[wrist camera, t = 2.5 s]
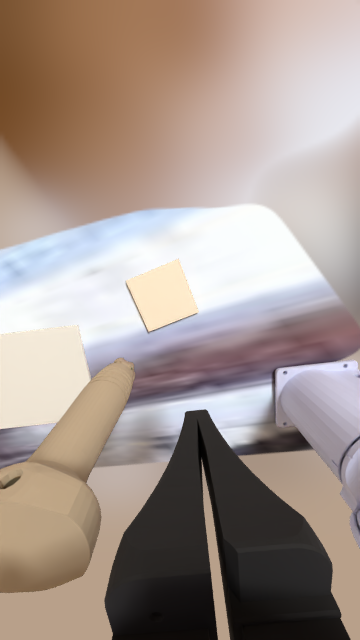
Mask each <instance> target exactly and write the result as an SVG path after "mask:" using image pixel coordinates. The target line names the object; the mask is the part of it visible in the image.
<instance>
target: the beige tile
mask: <svg viewBox="0 0 360 640" xmlns="http://www.w3.org/2000/svg"><path fill="white" fill-rule="evenodd" d="M126 283H127V285H128V287H129V289H130V291H131V294H132V296H133V298H134V300H135V303H136V305H137V307H138V309H139V311H140V314H141V316H142V318H143V320H144V322H145V325H146V327H147V329H148V331H152V330H155V329H157V328H160V327H162V326H165V325H167V324H170V323H172V322H175V321H177V320H180V319H183V318H185V317H188V316H190V315H193V314H195V313H198V312H199V311H198V309H197V306H196V303H195V301H194V298H193V295H192V293H191V290H190V288H189V285H188V282H187V280H186V277H185V275H184V272H183V269H182V267H181V264H180V262H179V259H177V260H175V261H172V262H170V263H167V264H165V265H163V266H160V267H158V268H156V269H153V270H151V271H148V272H146V273H144V274H141V275H139V276H136V277H134V278H132V279H129V280H127V281H126Z"/></svg>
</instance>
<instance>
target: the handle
mask: <svg viewBox="0 0 360 640" xmlns="http://www.w3.org/2000/svg"><path fill="white" fill-rule="evenodd" d="M134 378H135V372H134V364H133V363H132V362H127V361H126V360H124V358H118V359H116V360H115V361H114V363H112V364H109V365H108V366H107V367H105V368H104V369H102V370H101V371H100V372H99V373H98V374H97V375H96V376H95V377H94V378H93V379H92V380H91V381H90V382H89V383H88V384H87V385H86V386H85V388H83V390H82V391H81V392H80V394H79V395H78V396H77V398H76V399H75V400H74V402H73V403H72V404H71V406H70V407H69V408H68V410H67V411H66V412H65V414H64V415H63V416H62V418H61V419H60V420H59V422H58V423H57V424H56V425H55V427H54V428H53V429H52V431H51V432H50V433H49V434H48V436H47V437H46V438H45V440H44V441H43V442H42V443H41V445H40V446H39V447H38V449H37V450H36V451H35V452H34V453H33V454H32V456H31V457H30V458H29V459H28V460H27V461H26V462H23V463H18V464H14V465H11V466H8V467H5V468H2V469H0V593H14V592H34V591H42V590H47V589H50V588H54V587H57V586H60V585H62V584H65V583H67V582H69V581H72V580H74V579H76V578H79V577H81V576H83V574H84V573H85V572H86V570H87V568H88V565H89V563H90V560H91V557H92V553H93V550H94V547H95V544H96V541H97V537H98V534H99V530H100V522H101V511H100V507H99V503H98V500H97V498H96V497H95V495H94V493H93V491H92V489H90V487H89V486H88V485H87V484H86V482H87V479H88V477H89V475H90V472H91V471H92V469H93V467H94V465H95V463H96V461H97V459H98V457H99V455H100V453H101V451H102V449H103V447H104V445H105V443H106V441H107V439H108V437H109V436H110V434H111V432H112V430H113V428H114V426H115V424H116V423H117V421H118V419H119V417H120V415H121V413H122V411H123V410H124V407H125V405H126V403H127V400H128V398H129V395H130V392H131V389H132V385H133V381H134Z"/></svg>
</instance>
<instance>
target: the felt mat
mask: <svg viewBox="0 0 360 640" xmlns="http://www.w3.org/2000/svg"><path fill="white" fill-rule="evenodd" d="M90 381H91V376H90V372H89V367H88V363H87V359H86V355H85V351H84V347H83V343H82V339H81V334H80V330H79V326H78V325H72V326H64V327H56V328H47V329H39V330H30V331H22V332H14V333H5V334H0V429H4V428H13V427H22V426H31V425H40V424H49V423H58V422H59V420H60V419H61V418H62V416H63V415H64V414H65V412H66V411H67V410H68V408H69V407H70V406H71V404H72V403H73V402H74V400H75V399H76V398H77V396H78V395H79V394H80V392H81V391H82V390H83V388H85V386H86V385H87V384H88V383H89V382H90Z"/></svg>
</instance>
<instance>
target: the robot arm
mask: <svg viewBox="0 0 360 640" xmlns="http://www.w3.org/2000/svg"><path fill="white" fill-rule="evenodd" d="M344 364H345V365H344ZM343 365H344V366H343ZM284 371H285V373H283V372H284ZM275 404H276V425H277V426H278V427H290V426H296V428H297V429H298V430H299V431H300V432H301V434H302V435H303V436H304V437H305V439H306V440H307V441H308V442H309V444H310V445H311V446H312V447H313V449H314V450H315V451H316V452H317V453H318V455H319V456H320V457H321V459H322V460H323V461H324V462H325V463H326V464H327V466H328V467H329V468H330V469H331V471H332V472H333V473H334V474H335V476H336V477H337V478H338V480H339V481H340V482H341V483H342V485H343V488H342V490H341V492H340V495H341V496H342V498H343V499H344V500H345V502H346V503H347V504H348V506H349V507H350V508H351V510H352V511H353V513H352V514H351V516H350V526H351V530H352V533H353V536H354V538H355V540H356V542H357V544H358V546H359V548H360V370H358V362H356V361H354V360H347V361H338V362H329V363H320V364H311V365H303V366H294V367H285V368H278V369H276V371H275ZM284 422H285V423H284ZM201 457H202V462H203V467H204V471H205V476H206V481H207V486H208V491H209V495H210V500H211V505H212V511H213V518H214V525H215V532H216V539H217V546H218V553H219V560H220V568H221V575H222V582H223V589H224V597H225V604H226V611H227V618H228V625H229V633H230V640H350V638H349V635H348V633H347V632H346V629H345V627H344V625H343V623H342V621H341V619H340V618H341V612H340V609H339V607H338V605H337V603H336V601H335V599H334V597H333V595H332V593H331V583H332V572H333V570H332V562H331V561H330V558H329V557H328V554H327V552H326V551H325V549H324V547H323V545H322V543H321V542H320V540H319V539H318V537H317V536H316V534H315V533H314V531H313V529H312V528H311V527H310V525H309V524H308V522H307V521H306V519H305V518H304V517H303V516H302V515H301V514H299V513H298V512H297V511H295V510H294V509H293V508H292V507H290V506H289V505H288V504H287V503H285V502H284V501H283V500H282V499H280V498H279V497H278V496H277V495H276V494H275V493H273V492H272V491H271V490H270V489H269V488H268V487H267V486H266V485H265V484H264V483H263V482H262V481H260V479H259V478H258V477H256V476H255V475H254V474H253V473H252V472H251V471H250V469H249V468H248V467H247V466H246V465H245V464H244V463H243V462H242V461H241V460H240V459H239V457H238V456H237V455H236V454H235V453H234V451H233V450H232V449H231V448H230V446H229V445H228V444H227V442H226V441H225V440H224V438H223V437H222V435H221V434H220V432H219V431H218V429H217V428H216V426H215V424H214V423H213V421H212V419H211V417H210V415H209V413H208V411H207V410H196V411H187V412H186V413H185V418H184V423H183V427H182V430H181V433H180V437H179V440H178V442H177V445H176V447H175V450H174V453H173V455H172V457H171V459H170V462H169V464H168V466H167V468H166V470H165V472H164V473H163V475H162V477H161V479H160V481H159V483H158V485H157V486H156V488H155V489H154V491H153V493H152V494H151V496H150V497H149V499H148V500H147V502H146V503H145V505H144V506H143V508H142V509H141V511H140V512H139V513H138V515H137V516H136V517H135V519H134V520H133V522H132V523H131V524H130V526H129V527H128V528H127V529H126V531H125V532H124V534H123V537H122V539H121V542H120V545H119V548H118V550H117V554H116V556H115V560H114V563H113V566H112V570H111V574H110V578H109V583H108V587H107V591H106V596H105V608H106V612H107V615H108V618H109V622H110V625H111V628H112V632H113V636H112V640H218V636H217V627H216V618H215V608H214V599H213V590H212V581H211V571H210V562H209V553H208V543H207V535H206V526H205V517H204V506H203V487H202V486H203V485H202V462H201Z"/></svg>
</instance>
